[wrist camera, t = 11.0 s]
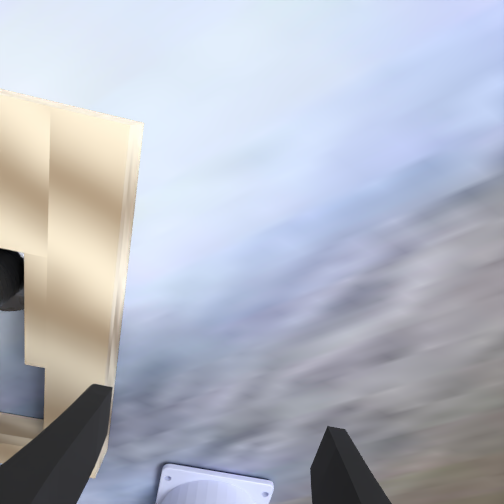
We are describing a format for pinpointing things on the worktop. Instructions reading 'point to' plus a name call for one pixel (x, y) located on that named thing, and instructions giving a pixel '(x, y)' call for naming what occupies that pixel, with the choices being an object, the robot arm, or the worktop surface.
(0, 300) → the peg
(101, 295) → the keyhole board
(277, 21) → the worktop surface
